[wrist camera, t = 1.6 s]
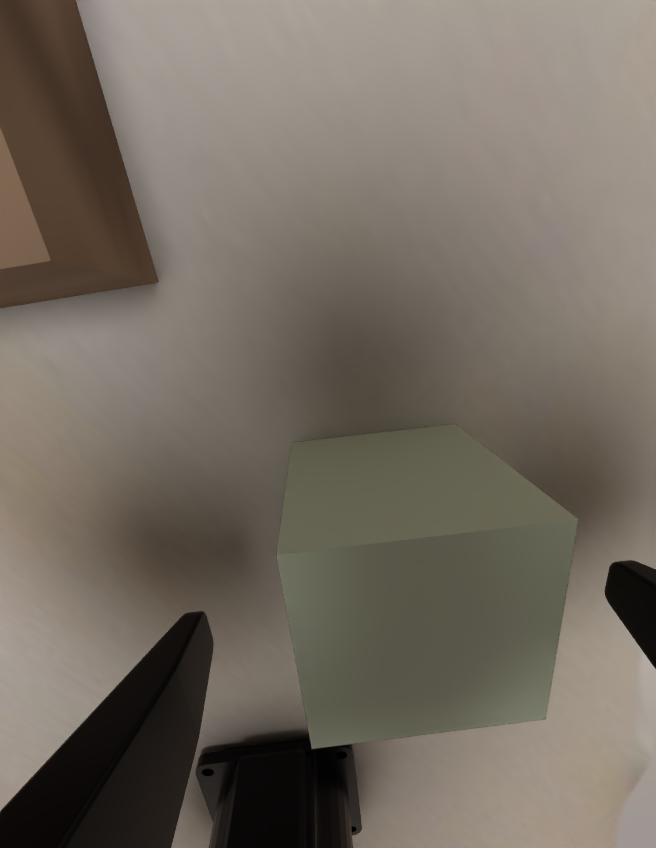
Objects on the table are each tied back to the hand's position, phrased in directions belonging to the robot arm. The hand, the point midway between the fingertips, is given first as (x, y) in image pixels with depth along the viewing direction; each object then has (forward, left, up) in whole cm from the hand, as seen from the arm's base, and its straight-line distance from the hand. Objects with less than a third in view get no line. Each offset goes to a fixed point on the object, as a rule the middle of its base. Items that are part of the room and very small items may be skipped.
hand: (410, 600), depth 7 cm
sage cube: (0, 0, -4) cm, 4 cm away
